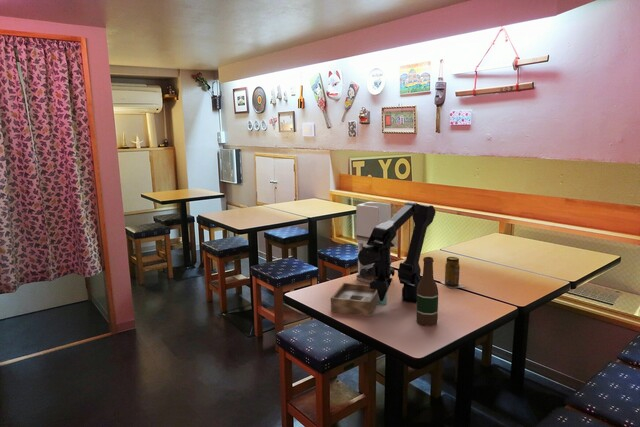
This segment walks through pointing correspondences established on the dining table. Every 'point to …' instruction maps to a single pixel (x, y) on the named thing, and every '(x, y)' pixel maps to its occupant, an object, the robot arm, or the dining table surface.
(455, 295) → the dining table surface
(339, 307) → the box
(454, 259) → the condiment
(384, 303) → the peg
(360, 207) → the display case
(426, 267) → the beer bottle
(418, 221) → the robot arm
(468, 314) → the dining table surface
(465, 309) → the dining table surface
